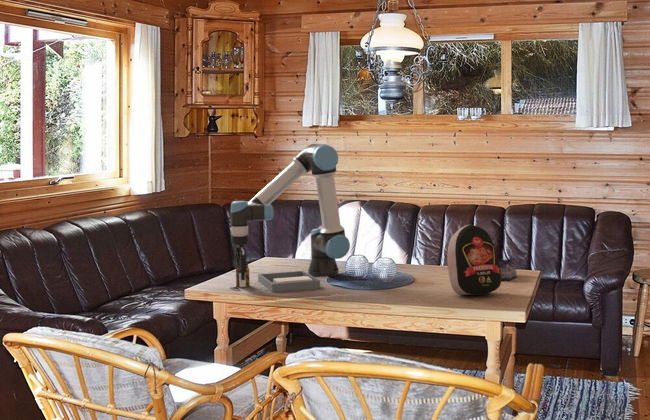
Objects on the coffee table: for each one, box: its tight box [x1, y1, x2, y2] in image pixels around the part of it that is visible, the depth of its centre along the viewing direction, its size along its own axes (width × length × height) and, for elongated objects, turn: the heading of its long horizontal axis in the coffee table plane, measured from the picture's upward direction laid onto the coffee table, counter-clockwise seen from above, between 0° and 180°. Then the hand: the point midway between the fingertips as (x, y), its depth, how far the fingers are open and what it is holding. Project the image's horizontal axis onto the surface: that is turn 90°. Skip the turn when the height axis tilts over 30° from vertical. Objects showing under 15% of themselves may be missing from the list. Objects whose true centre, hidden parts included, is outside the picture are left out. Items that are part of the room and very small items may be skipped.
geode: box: [499, 257, 518, 281], centre depth 416 cm, size 20×12×10 cm, turn 152°
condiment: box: [229, 261, 251, 291], centre depth 400 cm, size 7×8×12 cm
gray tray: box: [257, 270, 321, 293], centre depth 402 cm, size 22×26×4 cm
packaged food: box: [446, 224, 502, 296], centre depth 379 cm, size 22×20×30 cm
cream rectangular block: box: [273, 276, 312, 284], centre depth 395 cm, size 16×8×4 cm, turn 108°
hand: (241, 285), depth 400 cm, fingers closed on condiment, 6 cm apart
